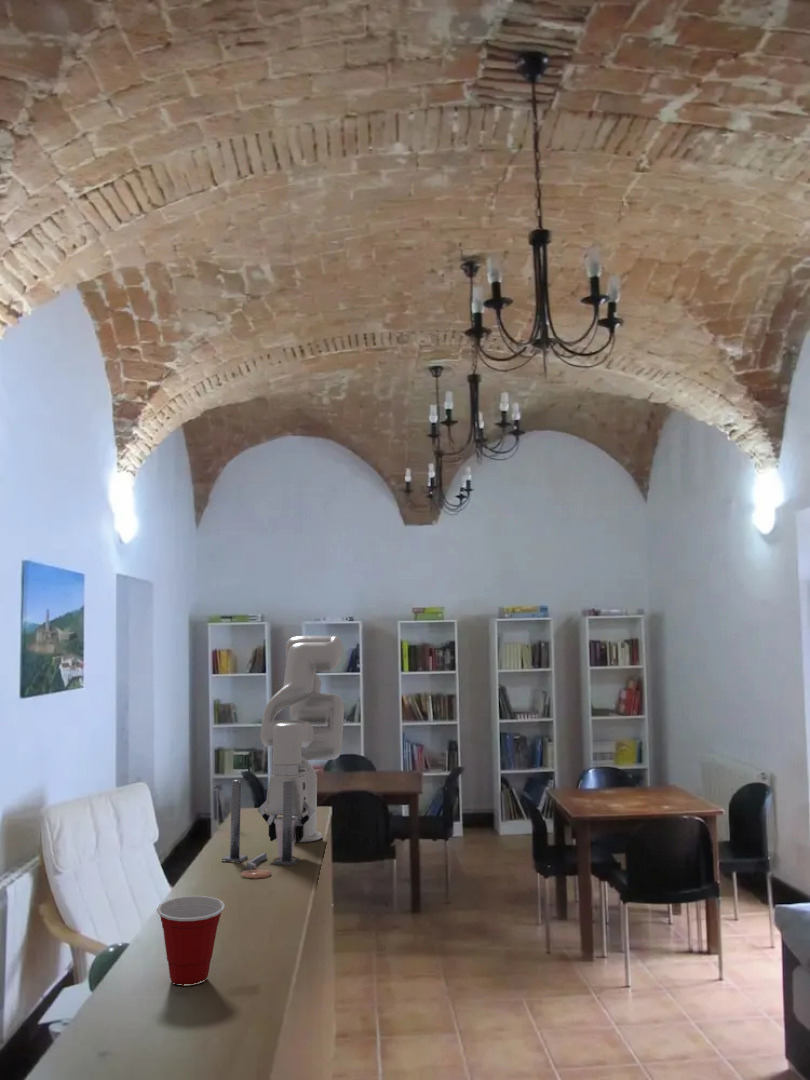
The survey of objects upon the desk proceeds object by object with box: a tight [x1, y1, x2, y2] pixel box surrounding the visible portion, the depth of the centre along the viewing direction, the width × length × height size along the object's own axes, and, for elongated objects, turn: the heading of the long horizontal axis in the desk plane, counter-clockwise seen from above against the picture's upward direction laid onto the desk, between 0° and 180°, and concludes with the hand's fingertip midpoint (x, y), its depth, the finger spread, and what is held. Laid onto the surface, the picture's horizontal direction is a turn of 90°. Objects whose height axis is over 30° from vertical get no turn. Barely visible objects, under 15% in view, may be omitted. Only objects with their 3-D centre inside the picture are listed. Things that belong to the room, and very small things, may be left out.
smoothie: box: [274, 816, 297, 858], centre depth 242 cm, size 6×6×14 cm
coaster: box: [240, 868, 272, 880], centre depth 221 cm, size 7×7×1 cm
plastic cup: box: [156, 895, 225, 985], centre depth 151 cm, size 11×11×12 cm
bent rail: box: [246, 852, 268, 870], centre depth 232 cm, size 14×3×2 cm, turn 168°
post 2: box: [273, 781, 300, 866], centre depth 235 cm, size 5×5×20 cm
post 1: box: [221, 779, 248, 863], centre depth 238 cm, size 5×5×20 cm
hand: (285, 839), depth 242 cm, fingers closed on smoothie, 6 cm apart
